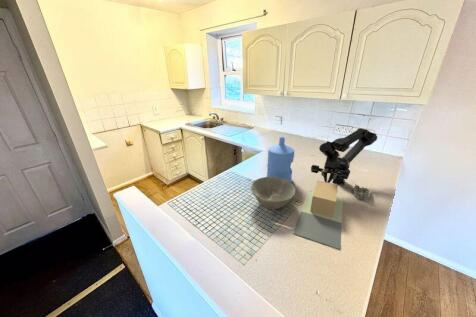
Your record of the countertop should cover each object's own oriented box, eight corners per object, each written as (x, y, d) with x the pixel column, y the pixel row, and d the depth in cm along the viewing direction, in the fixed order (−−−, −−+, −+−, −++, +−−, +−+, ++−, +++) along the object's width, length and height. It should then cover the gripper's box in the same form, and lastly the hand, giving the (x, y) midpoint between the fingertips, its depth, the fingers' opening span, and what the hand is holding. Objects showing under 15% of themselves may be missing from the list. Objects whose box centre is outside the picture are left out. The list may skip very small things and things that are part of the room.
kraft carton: (314, 194, 108) (317, 180, 104) (334, 199, 104) (337, 184, 100) (310, 211, 95) (312, 195, 92) (332, 217, 91) (336, 201, 87)
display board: (307, 191, 112) (308, 191, 111) (342, 199, 104) (343, 199, 104) (293, 233, 83) (293, 233, 82) (340, 249, 75) (340, 249, 75)
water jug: (272, 187, 116) (275, 143, 105) (262, 175, 130) (264, 135, 118) (296, 183, 120) (301, 140, 108) (284, 172, 133) (287, 133, 122)
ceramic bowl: (286, 190, 113) (288, 175, 109) (299, 217, 92) (302, 200, 88) (248, 192, 112) (248, 176, 108) (253, 219, 91) (253, 201, 87)
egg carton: (353, 189, 113) (355, 183, 112) (368, 193, 110) (370, 186, 108) (352, 198, 105) (354, 192, 104) (368, 202, 101) (370, 196, 100)
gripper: (314, 151, 106) (307, 177, 101) (353, 157, 97) (347, 186, 93) (314, 159, 115) (308, 183, 111) (349, 165, 107) (344, 192, 102)
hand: (326, 186), depth 104 cm, fingers closed
